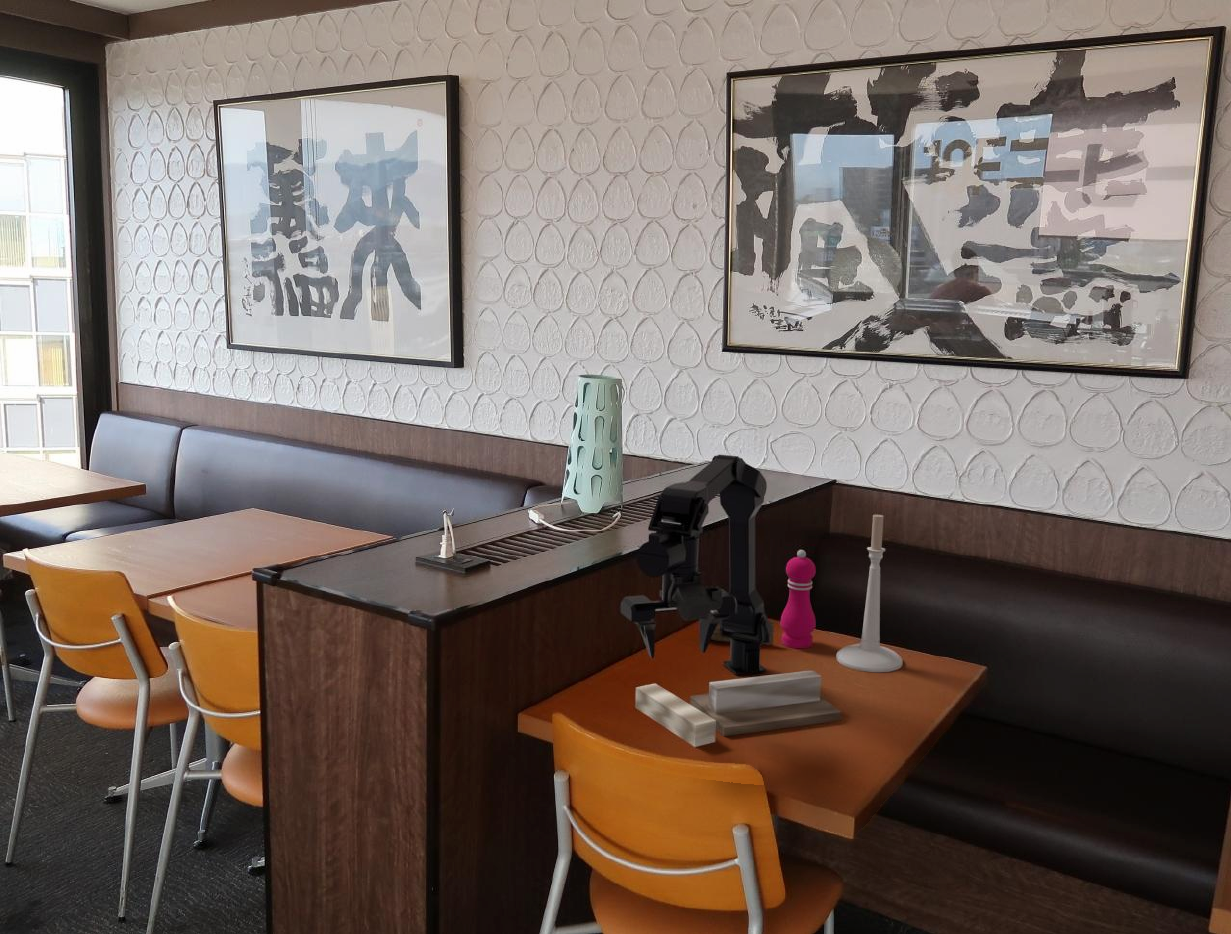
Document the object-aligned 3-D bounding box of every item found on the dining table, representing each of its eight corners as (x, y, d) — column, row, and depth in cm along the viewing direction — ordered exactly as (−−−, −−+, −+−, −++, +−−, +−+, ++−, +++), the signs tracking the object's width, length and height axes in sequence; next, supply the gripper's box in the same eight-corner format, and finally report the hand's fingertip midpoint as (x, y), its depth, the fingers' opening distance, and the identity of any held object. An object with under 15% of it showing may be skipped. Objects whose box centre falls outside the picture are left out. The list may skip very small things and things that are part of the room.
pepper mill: (793, 635, 221) (797, 543, 218) (821, 644, 216) (826, 550, 213) (772, 642, 216) (776, 549, 213) (801, 652, 211) (805, 556, 208)
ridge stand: (690, 704, 184) (691, 671, 183) (800, 690, 191) (802, 659, 190) (723, 736, 171) (725, 701, 170) (841, 720, 178) (842, 687, 177)
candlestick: (862, 675, 199) (871, 522, 194) (823, 654, 210) (831, 508, 205) (916, 667, 204) (926, 517, 199) (875, 646, 216) (884, 504, 210)
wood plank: (773, 643, 217) (774, 620, 216) (773, 646, 215) (774, 623, 214) (699, 638, 219) (699, 615, 218) (698, 641, 217) (699, 618, 216)
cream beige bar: (635, 709, 182) (635, 687, 181) (654, 704, 184) (655, 683, 183) (694, 748, 167) (695, 725, 166) (715, 743, 169) (715, 720, 168)
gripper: (645, 580, 160) (642, 677, 163) (754, 572, 166) (749, 665, 169) (620, 562, 170) (618, 654, 173) (724, 555, 177) (720, 644, 179)
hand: (677, 654), depth 173 cm, fingers open, 9 cm apart
